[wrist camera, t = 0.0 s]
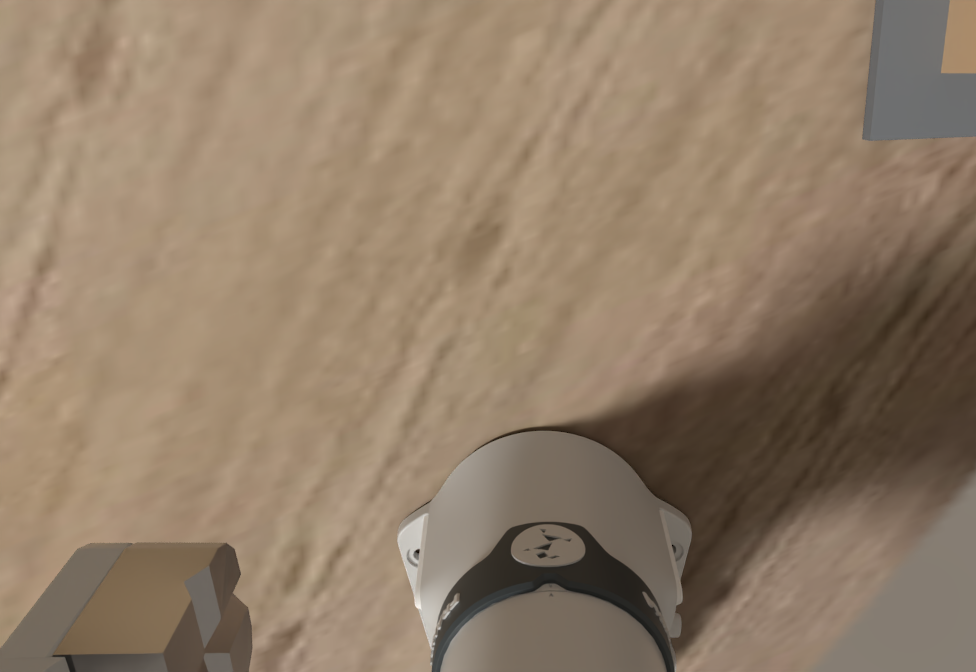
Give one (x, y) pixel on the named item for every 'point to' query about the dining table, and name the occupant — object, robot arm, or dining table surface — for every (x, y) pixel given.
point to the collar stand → (922, 70)
